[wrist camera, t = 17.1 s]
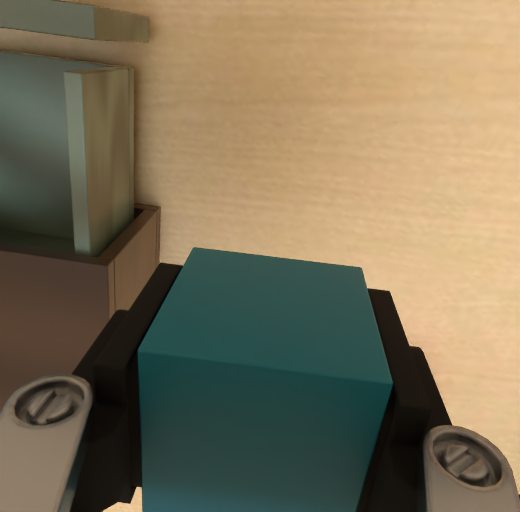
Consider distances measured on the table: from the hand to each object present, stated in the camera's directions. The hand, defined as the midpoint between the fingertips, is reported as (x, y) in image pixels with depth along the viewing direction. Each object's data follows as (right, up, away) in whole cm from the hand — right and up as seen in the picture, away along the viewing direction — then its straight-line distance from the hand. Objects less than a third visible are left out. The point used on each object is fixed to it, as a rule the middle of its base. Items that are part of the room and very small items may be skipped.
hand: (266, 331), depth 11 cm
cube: (0, 0, 0) cm, 0 cm away
